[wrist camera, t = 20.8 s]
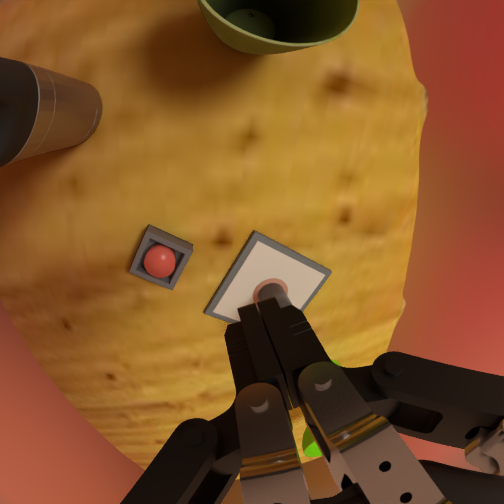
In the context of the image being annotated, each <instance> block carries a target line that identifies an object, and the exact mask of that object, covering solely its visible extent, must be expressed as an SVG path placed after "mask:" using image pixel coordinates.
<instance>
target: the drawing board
mask: <svg viewBox="0 0 504 504" xmlns="http://www.w3.org/2000/svg"><path fill="white" fill-rule="evenodd" d="M331 273H332V271H331V270H329V269H328V268H326V267H324V266H322V265H320V264H318V263H316V262H314V261H313V260H311V259H309V258H307V257H305V256H303V255H301V254H299V253H297V252H295V251H294V250H292V249H290V248H288V247H286V246H284V245H282V244H280V243H278V242H276V241H274V240H272V239H271V238H269V237H267V236H265V235H263V234H261V233H259V232H257V231H255V230H254V231H253V233H252V234H251V236H250V237H249V239H248V241H247V242H246V244H245V245H244V247H243V249H242V250H241V252H240V254H239V255H238V257H237V258H236V260H235V262H234V263H233V265H232V266H231V268H230V270H229V271H228V273H227V275H226V276H225V278H224V279H223V281H222V283H221V284H220V286H219V288H218V289H217V291H216V292H215V294H214V296H213V297H212V299H211V301H210V302H209V304H208V306H207V307H206V309H205V310H204V312H205V314H207V315H210V316H213V317H215V318H218V319H221V320H224V321H227V322H230V323H236V322H239V321H240V317H239V314H238V310H237V308H239V307H243V306H246V305H249V304H252V303H255V304H256V306H257V302H258V301H259V299H258V293H259V291H260V289H261V288H262V287H263V286H265V285H266V284H269V283H277V284H280V285H281V286H282V287H283V289H284V291H285V292H286V294H287V296H288V298H289V299H290V301H291V303H292V305H293V306H295V307H297V308H298V309H300V310H301V311H302V312H303V311H304V309H305V308H306V307H307V305H308V304H309V303H310V301H311V300H312V299H313V297H314V296H315V295H316V293H317V292H318V291H319V289H320V288H321V287H322V285H323V284H324V283H325V281H326V280H327V278H328V277H329V276H330V274H331ZM257 309H258V306H257ZM258 311H259V310H258Z"/></svg>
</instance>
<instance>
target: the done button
mask: <svg viewBox="0 0 504 504" xmlns="http://www.w3.org/2000/svg"><path fill="white" fill-rule="evenodd" d="M175 260H176V254H175V251H174V249H173V248H170V247H168V246H166V245H164V244H162V243H159V242H157V243H154V244H152V245H151V246H150V247H149V248H148V250H147V253H146V256H145V260H144V266H145V269H146V271H147V272H148V273H149V274H150V275H152V276H154V277H157V278H163V277H167V276H169V275H170V274H171V273H172V272H173V271H174V268H175Z"/></svg>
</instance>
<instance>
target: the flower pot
mask: <svg viewBox="0 0 504 504" xmlns="http://www.w3.org/2000/svg"><path fill="white" fill-rule="evenodd" d="M197 1H198V4H199V6H200V9H201V11H202V13H203V15H204V17H205V19H206V21H207V23H208V25H209V26H210V28H211V29H212V31H213V32H214V33H215V34H216V36H217V37H218V38H219V39H220V40H221V41H222V42H223V43H225V44H226V45H227V46H229V47H230V48H232V49H234V50H237V51H239V52H243V53H248V54H258V55H265V54H278V53H285V52H291V51H296V50H300V49H304V48H308V47H312V46H317V45H321V44H324V43H327V42H330V41H333V40H335V39H337V38H339V37H340V36H342V35H343V34H344V33H346V32H347V31H348V30H349V29H350V27H351V26H352V25H353V23H354V21H355V19H356V17H357V14H358V11H359V0H197ZM250 14H252V17H250V16H249V15H250Z"/></svg>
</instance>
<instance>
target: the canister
mask: <svg viewBox="0 0 504 504" xmlns="http://www.w3.org/2000/svg"><path fill="white" fill-rule="evenodd" d="M274 296H275V298H276V300H277V302H278V304H279V306H280V308H283V307H286V306H289V305H292V303H291V301H290V299H289V298H288V296H287V294H286V292H285V291H284V289H283V287H282V286H281V285H280V284H277V283H269V284H266V285H265V286H263V287H262V288H261V289H260V291H259V293H258V299H259V301H261V300H265V299H268V298H271V297H274Z"/></svg>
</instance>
